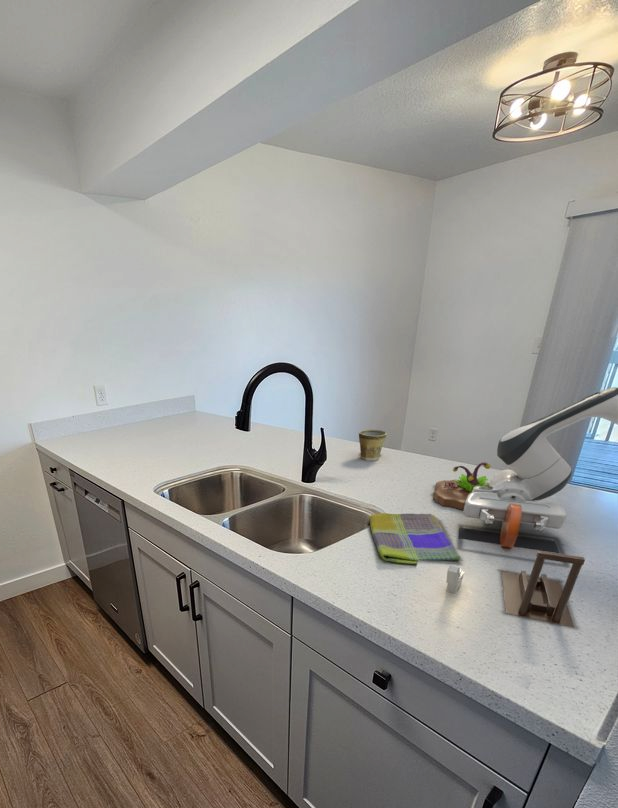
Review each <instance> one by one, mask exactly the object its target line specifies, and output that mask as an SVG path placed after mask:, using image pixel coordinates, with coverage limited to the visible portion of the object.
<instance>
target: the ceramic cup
mask: <svg viewBox="0 0 618 808" xmlns="http://www.w3.org/2000/svg"><path fill="white" fill-rule="evenodd" d="M387 434H388V433H387V432H386V431H384V430H380V429H363V430H359V432H358V439H359V440H358V442H359V450H360V459H361V460H363V461H367V462H368V461H370V462H374V461H378V460H380V459H379V458H380V455H381V452H382V449H383V446H384V444H385V441H386V438H387Z"/></svg>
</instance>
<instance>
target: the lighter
mask: <svg viewBox="0 0 618 808" xmlns="http://www.w3.org/2000/svg"><path fill="white" fill-rule="evenodd" d="M464 575H465V571H464V570H462V569H461V568H460V567H458V566H454V565H449V566H448V569H447V571H446V584H447V585H446V589H445V592H448V593H450V594H453V595H456V594H457V592H458V590H459V589H460V587H461V586H462V582H463V578H464Z"/></svg>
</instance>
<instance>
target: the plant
mask: <svg viewBox="0 0 618 808" xmlns="http://www.w3.org/2000/svg"><path fill="white" fill-rule="evenodd" d="M481 466H483V467H484V468H485V469H486V470H489V469H490V468H491V464H490V463H488V462H485V461H484V462H480V463H478V465H476V467H475V468H474V470H473V472H471V471H470V470H469V468H467V467H465V466H463V465H458V466H454V467H453V468H452V471H453V472H458V470H459V468H460V469H462V470H464V472H465V473H466V474H464V473H462V474H460V476H458V479H456V478H455V479H451V480H445V479H444V480H443V479H442V480H439V481H437V482H436V483H435V488H434V492H433V496H432V500H434V501H435V503H437V504H439V505H440V506H442V507H448V508H449V507H450V508H454V509H457V510H460V511H464V506H465V502H466V499H467V497H468V495H469V494H470V493H472V490H473V488H474V487H479V486H489V483H490V482H488V480H489V479H488V478H487V476H486V475H485V476H480V477H478V471H479V469H480V467H481Z"/></svg>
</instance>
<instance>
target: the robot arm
mask: <svg viewBox="0 0 618 808" xmlns="http://www.w3.org/2000/svg"><path fill="white" fill-rule="evenodd" d="M589 418H599V419H603V420H606V421H609V422H610V423H613V424H615V425H618V387H617V386H613V387H608V388H605V389H602V390H600V391H599V390H598V391H597V392H595V393H592V394H590V395H587V396H585V397H583V398H581V399H579V400H576V401H574V402H572V403H571V404H568V405H565V406H564V407H561V408H560V409H558V410H556V411H554V412H552V413H549V414H547V415H545V416H542V417H541V418H539V419H537V420H535V421H532V422H530V423H527V424H524V425H523V426H520V427H517V428H515V429H513V430H510V431H509V432H507V433H506V434H505V435H503V436H502V437H501V438H500V439H499V441H498V443H497V449H496V456H497V457H498V458H499V459H500V460H501V461H502V462H503V463H504V464H505V465H507V466H508V467H509V468H508V469H502V470H500V471H498V472H496V473H495V474H493V476H492V477H491V479H490V481H489V482H488V483H489V486H479V487H474V488H473V490H472V493H470V494H469V495H468V497H467V499H466V502H465V506H464V510H462V515H463V516H464V517H466V518H471V519H480V520H482V521H484V523H485V525H486V524H487V525H494V521H496V522H502V523H503V522H504V517H505V514H506V511H507V507H508V505H509V504H516V505H521V507H522V515H521V523H520V525H524V526H525V525H526V526H533V527H532V529H533V531H538V532H543V530H544V528H549V529H556V530H558V529H561V528H563V526H564V525H565V522H566V519H567V513H566V511H565V510H564V509H563V508H562V507H561V506H560V505H558V504H555V503H551V502H544V501H541V500H545V499H547V498H550V497H552V496H554V495H556V494H558V493H559V492H560V491H561V490H563V489H564V488H565V487H566V486H567V484H568V482H569V481H570V479H571V477H572V473H573V468H571V466H570V465H569V463H568V462H567V461H566V460H565V459H564V457H562V455H560V454H559V453H558V451H557V450H556V449H555V447H554V446H552V444H551V443H550V442H549V440H548V439H547V437H548V436H549V435H552V434H554V433H556V432H558V431H561V430H563V429H565V428H568V427H569V426H572V425H574V424H576V423H578V422H580V421H583V420H585V419H589Z"/></svg>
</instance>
